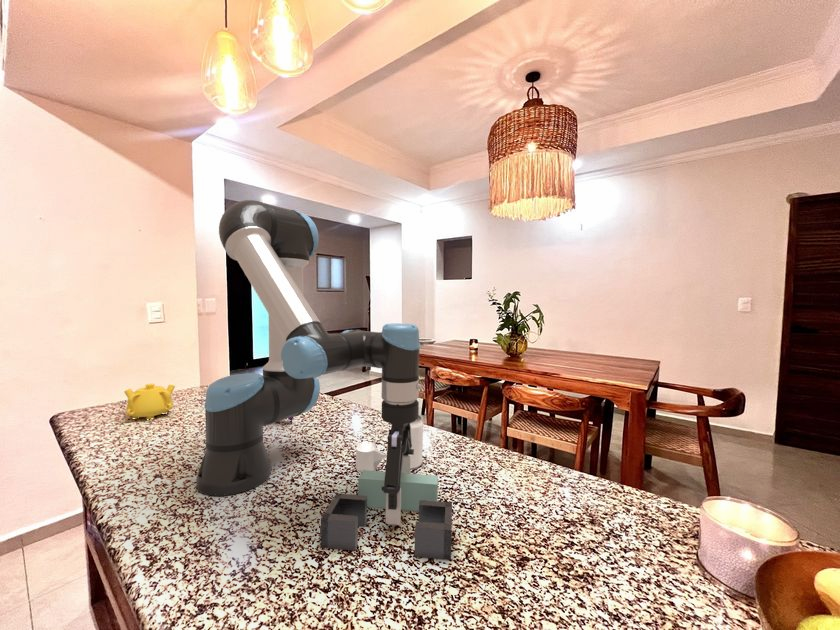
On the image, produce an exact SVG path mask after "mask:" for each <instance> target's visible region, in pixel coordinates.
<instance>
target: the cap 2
mask: <svg viewBox="0 0 840 630" xmlns="http://www.w3.org/2000/svg"><path fill="white" fill-rule="evenodd" d="M452 511H453V502H449V501H447V502H446V501H438V500H437V501H426V500H420V502H419V512H418V521H417V520H416V521H415V526H414V553H413V554H414V555H413V556H414V557H415V558H428V559H438V560H447V561H451V560H452V532H453V531H452V530H453V529H452V527H453V526H452V524H453V521H452V520H453V512H452Z"/></svg>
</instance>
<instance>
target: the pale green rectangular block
mask: <svg viewBox="0 0 840 630" xmlns="http://www.w3.org/2000/svg"><path fill="white" fill-rule="evenodd" d="M357 479H358V481H357V487H358V488H357V491H358V492H357V493H358V494H357V495H364V496H367V508H370V509H372V508H373V509H383V510H386V493H384V492H383V491H382V486H383V487H384V482H385V471H380V470H373V471H368V470H363V471H362V472H361V473H360V475H359V477H358V478H357ZM400 488H401V511H408V512H418V513H419V502H420V500H426V501H438V498H439V497H438V494H439V493H438V492H439V489H438V488H439V475H432V474H420V473H410V474H409V473H401V481H400Z"/></svg>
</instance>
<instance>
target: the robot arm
mask: <svg viewBox="0 0 840 630" xmlns="http://www.w3.org/2000/svg"><path fill="white" fill-rule="evenodd" d="M318 231H319V230H318V228H317V226H316V224H315V222H314V220H312V219H311V217H310V216H308V215H307V214H305V213H302V212H299V211H297V210H294V209H289V208H285V207H280V206H277V205H274V204H269V203H265V202H263V201H259V200H256V199H254V200H253V199H246V200H245V199H244V200H241V201H238V202H235V203H233V204H232V205H231V206H229V207H228V208H227V209H225V211H224V213H223V214H222V215H221V217H220V221H219V225H218V236H219V240H220V243H221V244H222V247H223V249H224V251H225V253H226V254H227V256H229V258H230V259H232V260H234V261H237V263H238V264H239V266H240V268H241V270H242V271H243V273H244V274H245V276H246V278H247V279H248V281H249V283H250V285H251V287H252V288H253V289H254V292H255V293H256V294H257V296H258V298H259V300H260V302H261V304H263V305H262V306H263V307H264V309H265V310H266V312H267V313H268V362H266V364H264V365H263V367H262V374H260V373H258V372H244V373H236V374H231V375H227V376H223V377H221V378H219V379H217V380H215V381H213V382H212V383H211V384H210V385H208V387H206V388H207V389H206V392H205V399H204V400H205V401H204V410H205V412H204V413H205V451H204V455H203V457H202V460H201V464H200V466H199V469H198V472H197V474H196V489H197V490H198V491H199V492H200V493H202V494H204V495H206V496H207V495H208V496H215V497H216V496H219V497H220V496H221V497H222V496H230V495H236V494H240V493H243V492H247V491H249V490H251V489H254V488H257V487H258V486H260V485H261V484H263V483H264V482H266V480H268V479H269V478H270V476H271V474H272V462H271V459H270V457H269V454H268V453H269V452H268V450H267V448H266V445H265V443H264V427H265V426H267V425H272V424H274V423H278V422H280V421H284V420H287V419H288V418H290V417H293V418H295V417H299V416H301V415H303V414H304V413H307V412H309V411H311V410H312V408H313V407H315V405H316V404H317V402H318V400H319V397H320V392H321V385H320V381H319V377H321V376H323V375H326V374H327V375H328V374H333V373H336V372H343V371H346V370H352V369H355V368H356V369H357V368H361V367H367V368H368V367H369V368H376V369H381V395H380V397H381V399H382V401H381V419H382V420H383V421H384V422H386V423H387V424H388V423H389V424H390V425H391V426H390V427H391V429H389V430H388V434H387V447H386V448H387V451H386V455H387V457H386V458H385V460H386V463H385V471H384V472H385V482H384V487H383V486H382V491H383V492H384V493H386V509H385V524H387V525H398V526H399V525H401V523H402V521H401V520H402V510H401V488H400V481H401V473H409V474H411V469H410V462H411V456H408V454H410V455H413V454H414V449H410V448H411V447H412V443H411V426H410V423H412V422H414V421H416V420H417V419H418V416H420V415H419V410H420V409H419V403H420V402H419V401H418V399H419V392H420V389H422V388H423V385H422V384H420V383H419V381H420V380H419V379H420V377H419V375H420V374H419V372H420V368H419V367H420V349H421V344H420V329H419V327H418V326H417V325H416V324H413V323H398V322H397V323H394V322H393V323H386V324H384V325H382V331H381V332H380V331H379V332H378V331H377V332H376V331H366V330H361V329H350V330H349V329H346V330H344V331H342V332H340V333H338V332H337V333H329V332H328V331H327V330H326V329H325V326H324V325H323V324H322V323H321V321H320V320H319V318H318V316H317V315H316V313H315V312H314V310H313V309H312V307H311V305H310V303H309V302H308V301H307V299H306V298H305V295H304V268H305V267H306V266H308V265H309V263H310V258H311V257H312V256H313V255H314V254H315V253H316V251H317V250H316V249H318V247H319V242H320V241H319V240H320V239H319V232H318Z"/></svg>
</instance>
